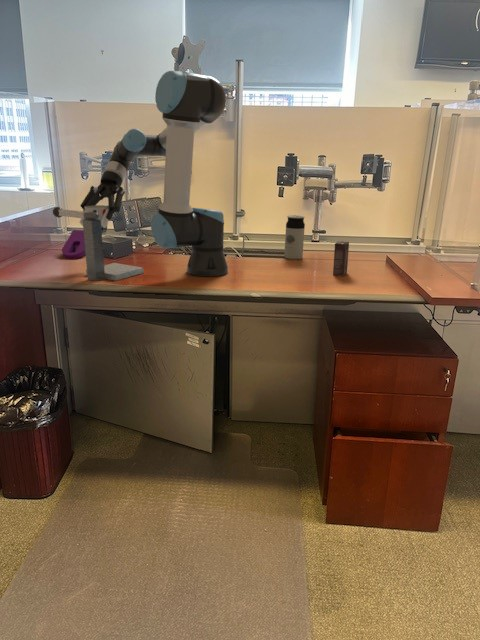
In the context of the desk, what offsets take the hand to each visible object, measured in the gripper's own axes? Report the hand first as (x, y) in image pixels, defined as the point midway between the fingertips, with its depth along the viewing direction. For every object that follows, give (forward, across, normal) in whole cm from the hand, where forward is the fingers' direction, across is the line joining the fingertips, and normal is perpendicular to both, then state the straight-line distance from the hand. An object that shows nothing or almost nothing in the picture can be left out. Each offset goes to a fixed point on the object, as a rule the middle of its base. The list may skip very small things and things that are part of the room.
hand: (92, 225), depth 167 cm
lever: (+5, -2, +10) cm, 12 cm away
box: (-8, -86, -35) cm, 93 cm away
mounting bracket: (-2, +22, -26) cm, 34 cm away
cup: (0, 0, -5) cm, 5 cm away
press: (+16, -10, -7) cm, 20 cm away
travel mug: (-25, -63, -51) cm, 85 cm away
